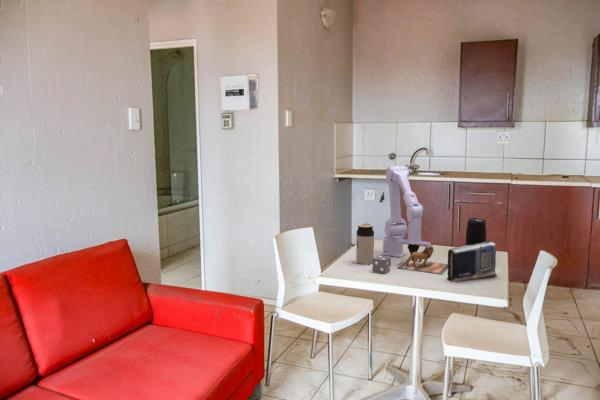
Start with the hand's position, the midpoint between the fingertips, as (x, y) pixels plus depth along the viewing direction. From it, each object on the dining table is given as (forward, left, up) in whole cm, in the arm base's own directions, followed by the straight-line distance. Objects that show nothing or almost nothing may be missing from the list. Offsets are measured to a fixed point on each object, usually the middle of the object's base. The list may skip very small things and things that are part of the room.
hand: (413, 260), depth 230 cm
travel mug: (-21, -6, -2) cm, 22 cm away
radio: (+27, -7, -2) cm, 28 cm away
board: (+5, 0, -2) cm, 5 cm away
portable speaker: (+23, +24, -2) cm, 33 cm away
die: (-9, -16, -2) cm, 19 cm away
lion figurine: (+2, 0, -1) cm, 2 cm away
